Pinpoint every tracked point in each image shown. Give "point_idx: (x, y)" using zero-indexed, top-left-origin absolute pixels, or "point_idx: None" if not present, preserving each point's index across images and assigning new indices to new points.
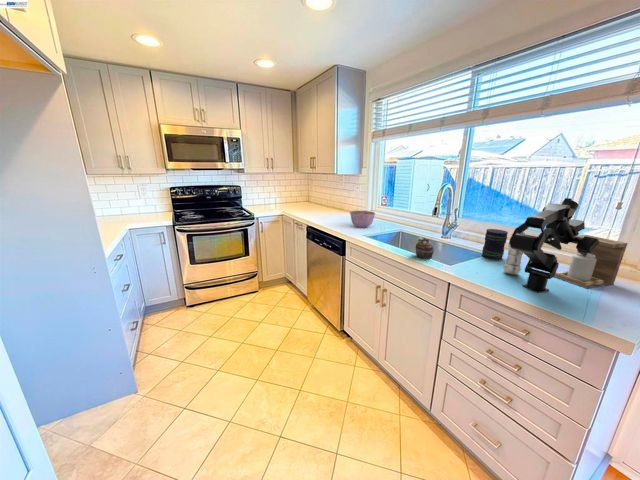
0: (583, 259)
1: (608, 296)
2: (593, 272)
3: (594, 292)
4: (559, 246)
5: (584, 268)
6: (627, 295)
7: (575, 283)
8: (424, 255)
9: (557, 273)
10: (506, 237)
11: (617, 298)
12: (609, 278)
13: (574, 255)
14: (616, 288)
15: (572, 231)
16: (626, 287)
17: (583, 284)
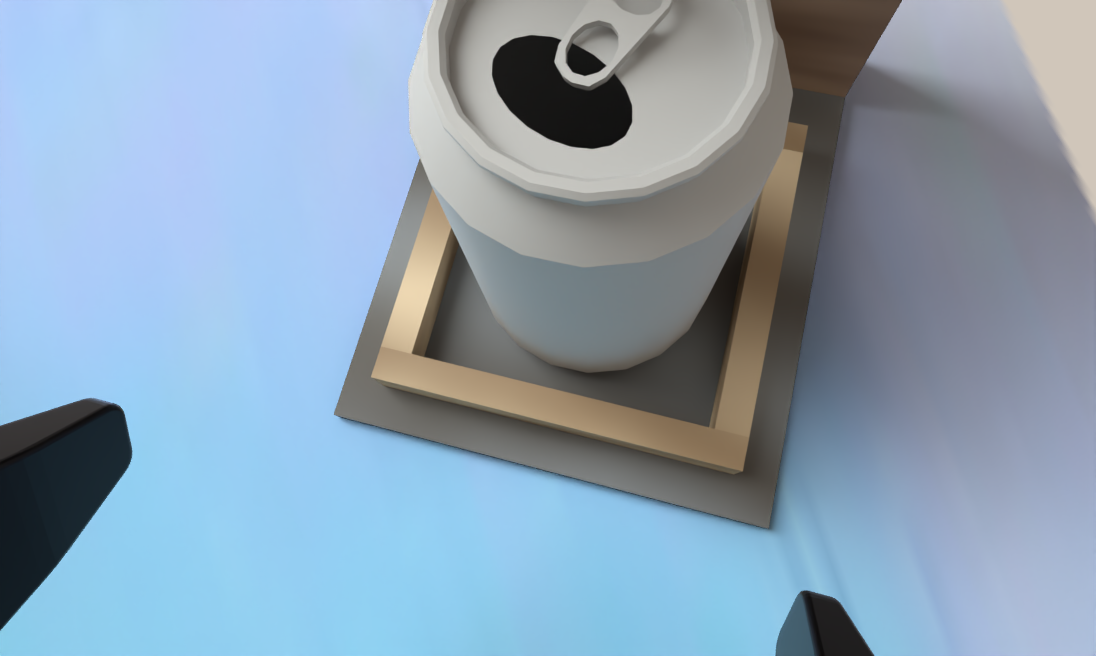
0: (638, 264)
1: (1008, 573)
2: None
3: (871, 579)
4: (5, 526)
5: (672, 306)
6: (1074, 307)
7: (636, 473)
8: None
9: (394, 384)
10: None
11: (1083, 545)
12: (838, 49)
13: (443, 170)
14: (917, 161)
15: None
16: (947, 27)
17: (719, 468)
